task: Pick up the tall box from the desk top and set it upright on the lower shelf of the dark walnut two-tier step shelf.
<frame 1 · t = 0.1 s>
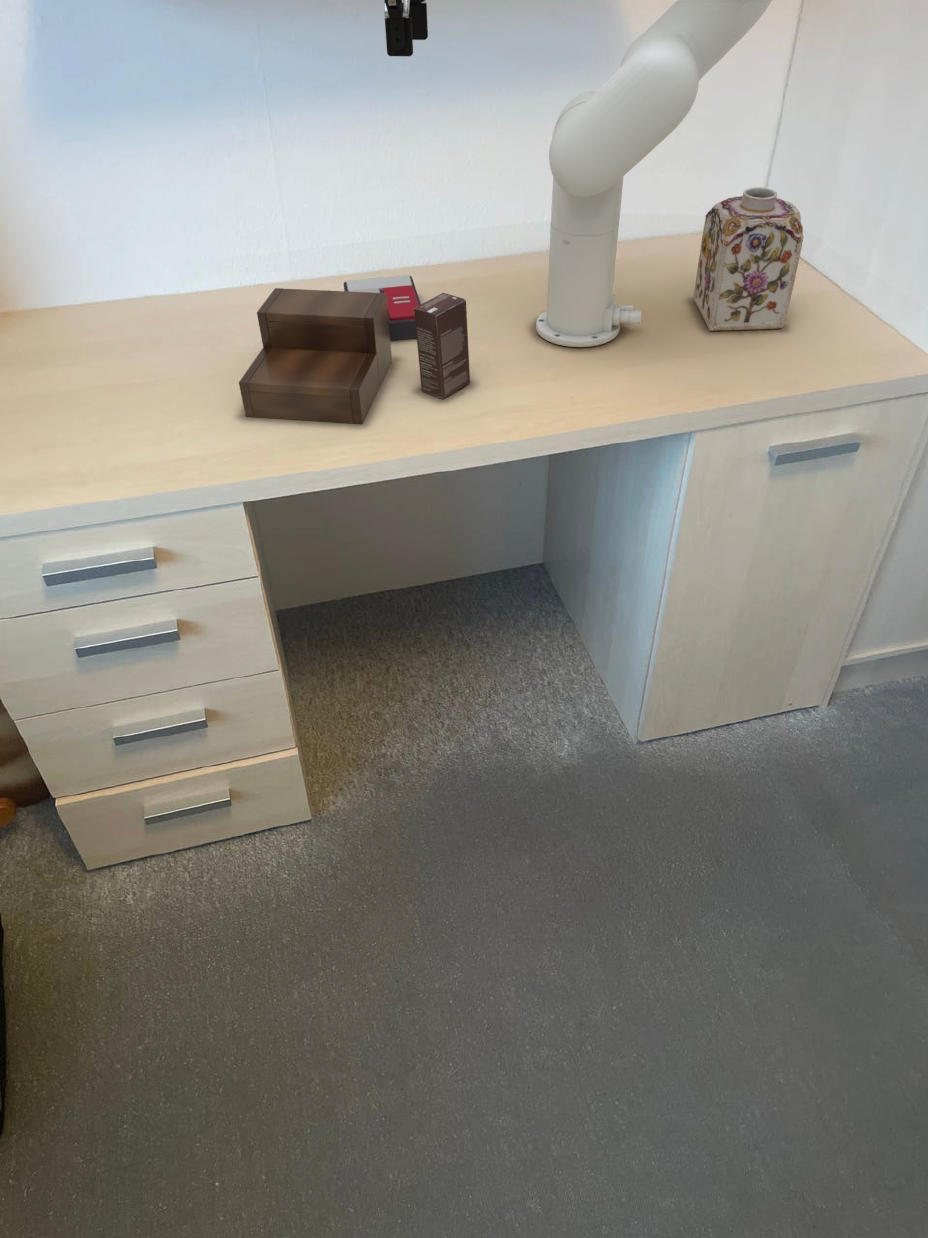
hand: (408, 46, 116), 37 cm above the table, tool pointing down, fingers open, 9 cm apart
step shelf: (323, 383, 127), on the table
calculator: (384, 321, 142), on the table
box: (444, 388, 126), on the table
decorative jar: (736, 315, 141), on the table
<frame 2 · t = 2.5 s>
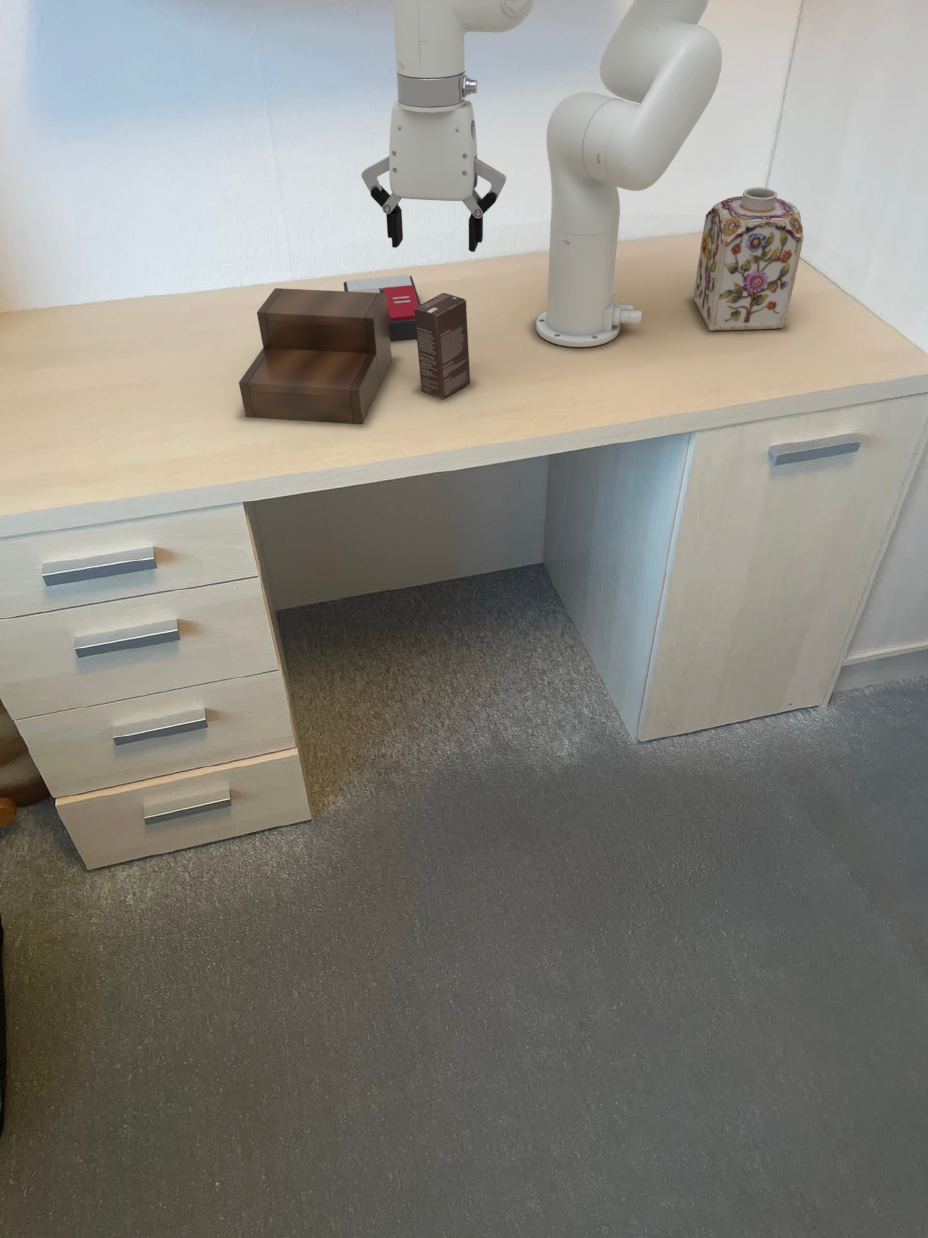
hand: (435, 245, 113), 19 cm above the table, tool pointing down, fingers open, 9 cm apart
nothing on the table moved.
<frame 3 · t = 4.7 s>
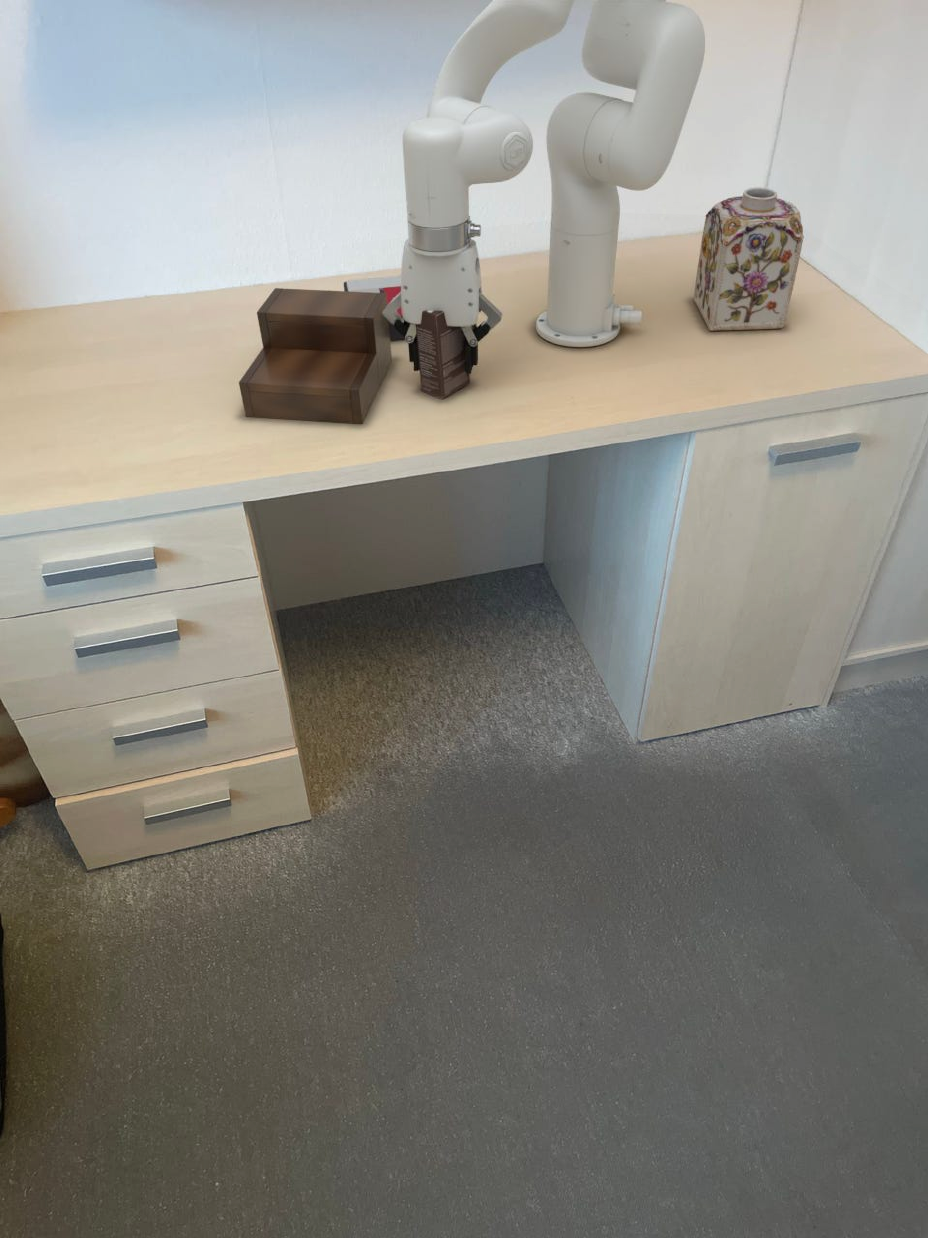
hand: (444, 366, 123), 3 cm above the table, tool pointing down, fingers closed on box, 6 cm apart
box: (444, 388, 126), on the table, touching gripper
everything else where it was.
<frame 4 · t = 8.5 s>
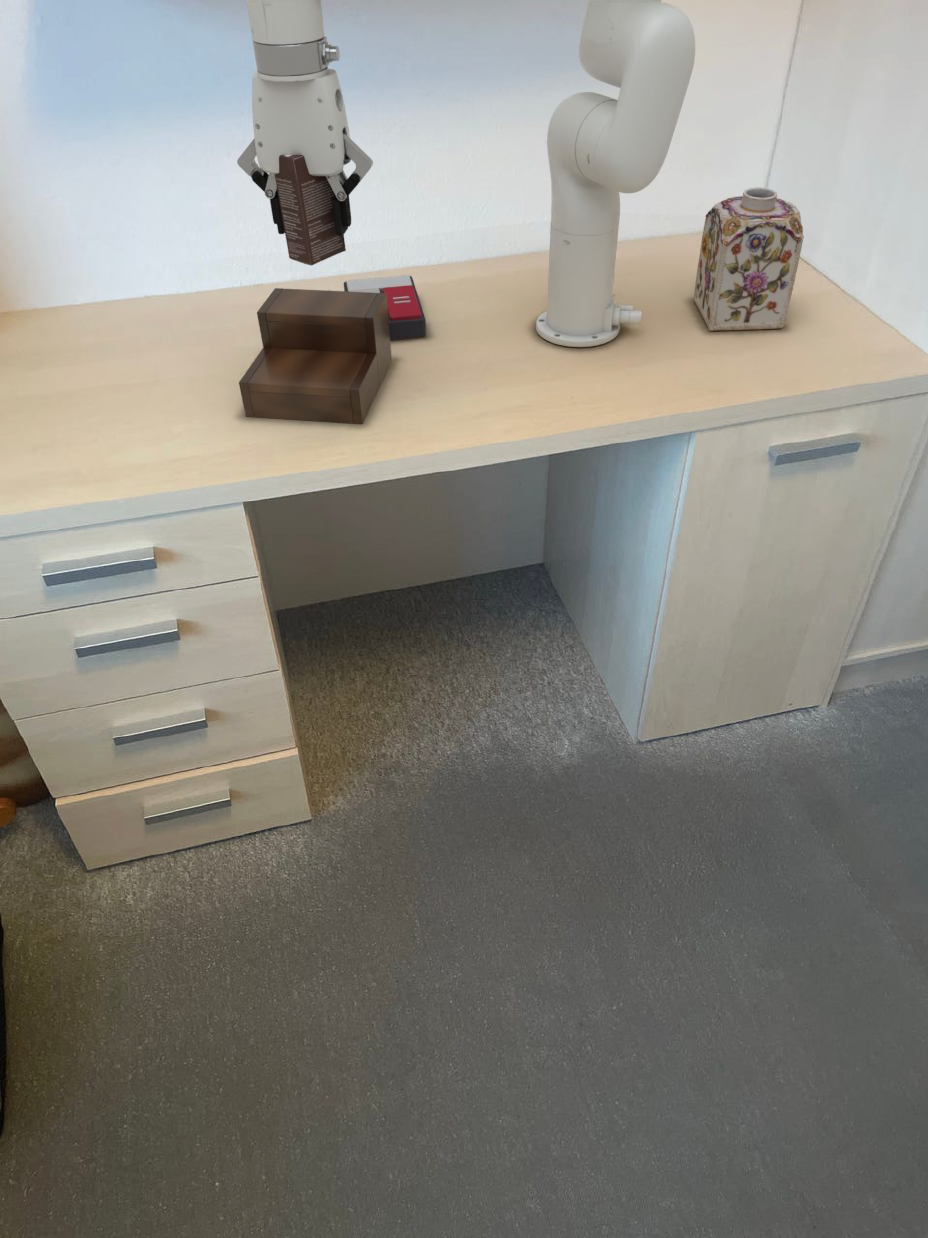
hand: (313, 229, 108), 23 cm above the table, tool pointing down, fingers closed on box, 6 cm apart
box: (316, 257, 111), point 19 cm above the table, touching gripper
everything else where it was.
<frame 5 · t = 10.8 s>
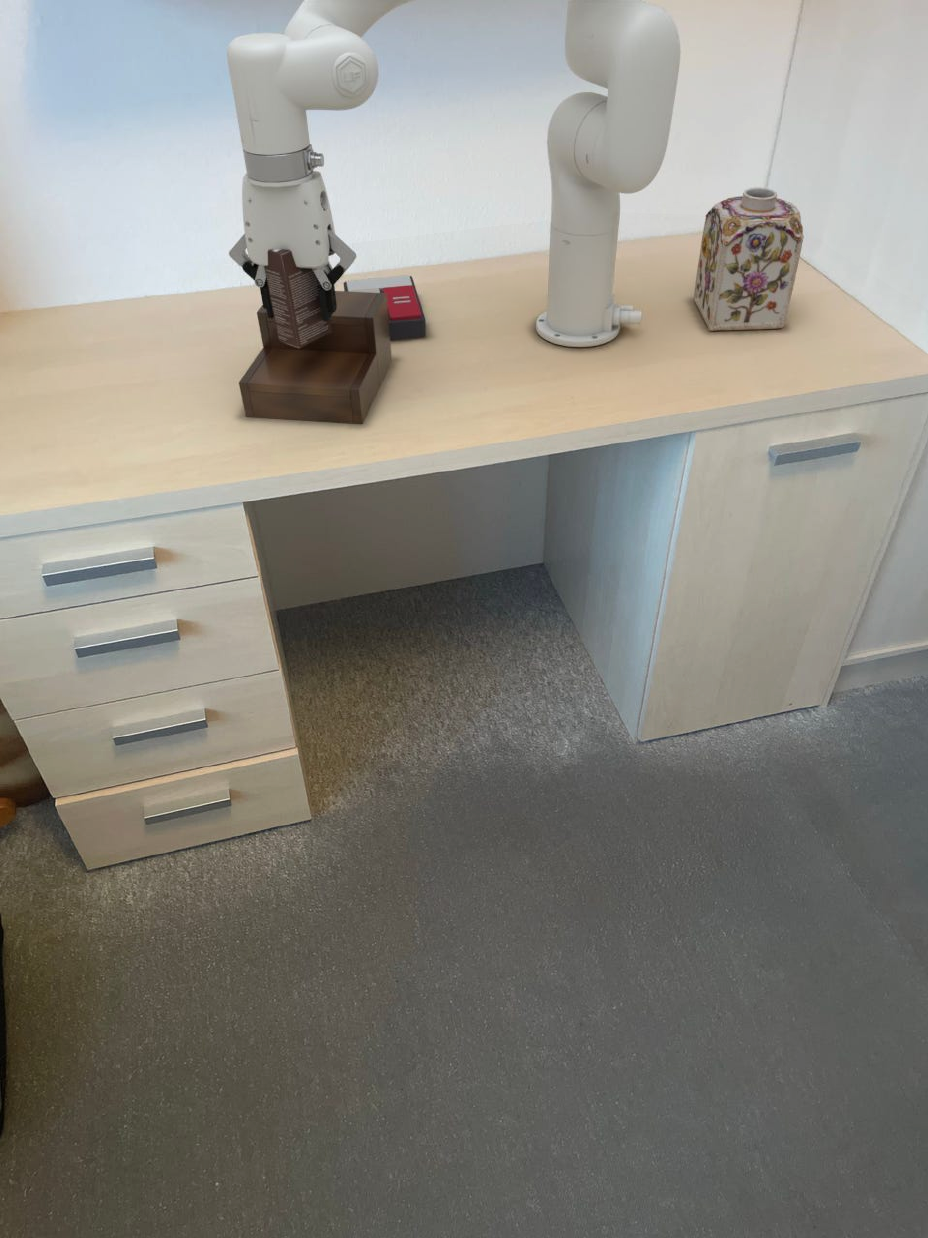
hand: (301, 314, 115), 12 cm above the table, tool pointing down, fingers closed on box, 6 cm apart
box: (304, 338, 117), point 9 cm above the table, touching gripper
everything else where it was.
when the fingers open (8 cm above the table, at t = 12.3 s): box stays where it is, resting on step shelf.
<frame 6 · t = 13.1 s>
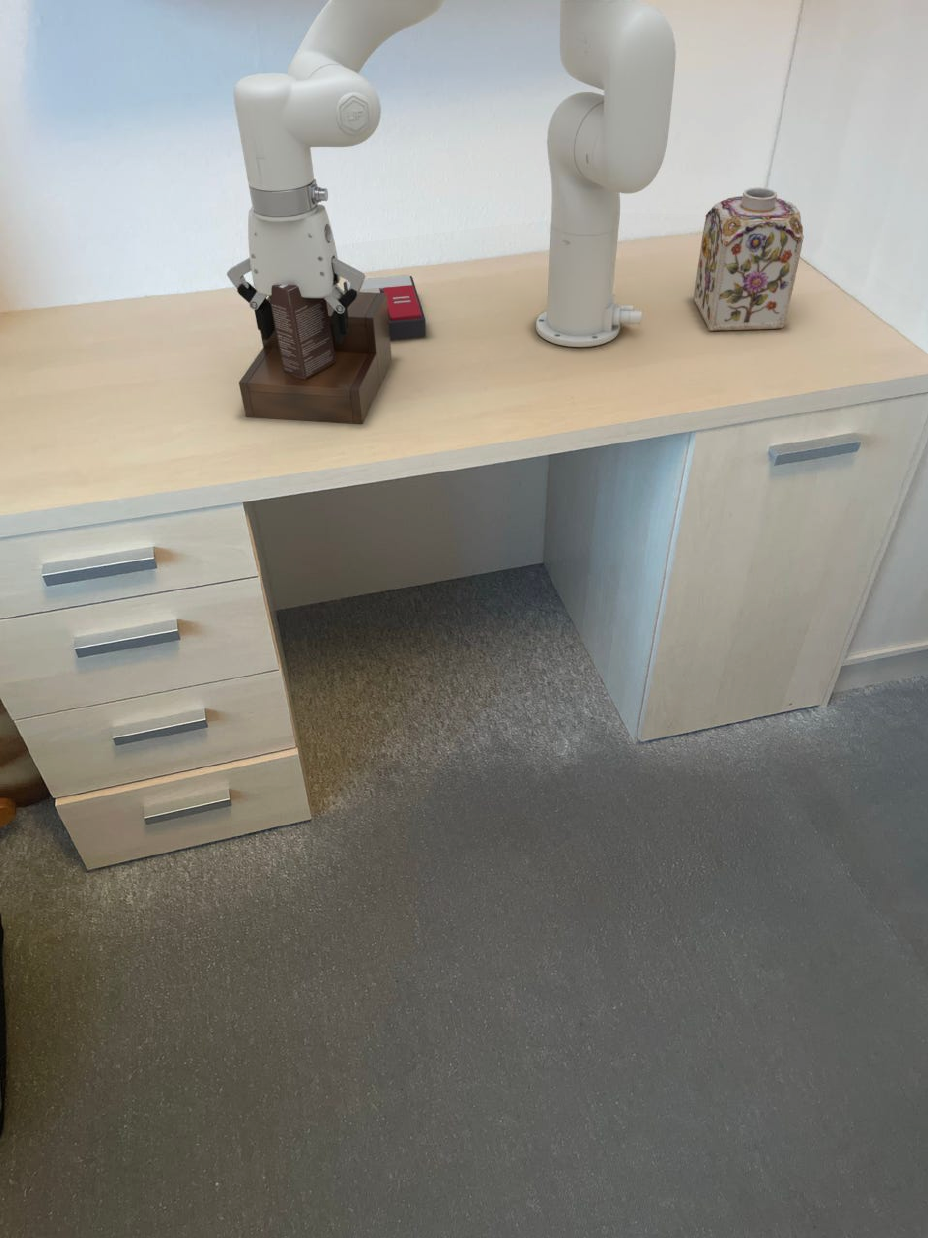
hand: (305, 336, 117), 9 cm above the table, tool pointing down, fingers open, 9 cm apart
box: (309, 369, 120), point 5 cm above the table, touching step shelf
everything else where it was.
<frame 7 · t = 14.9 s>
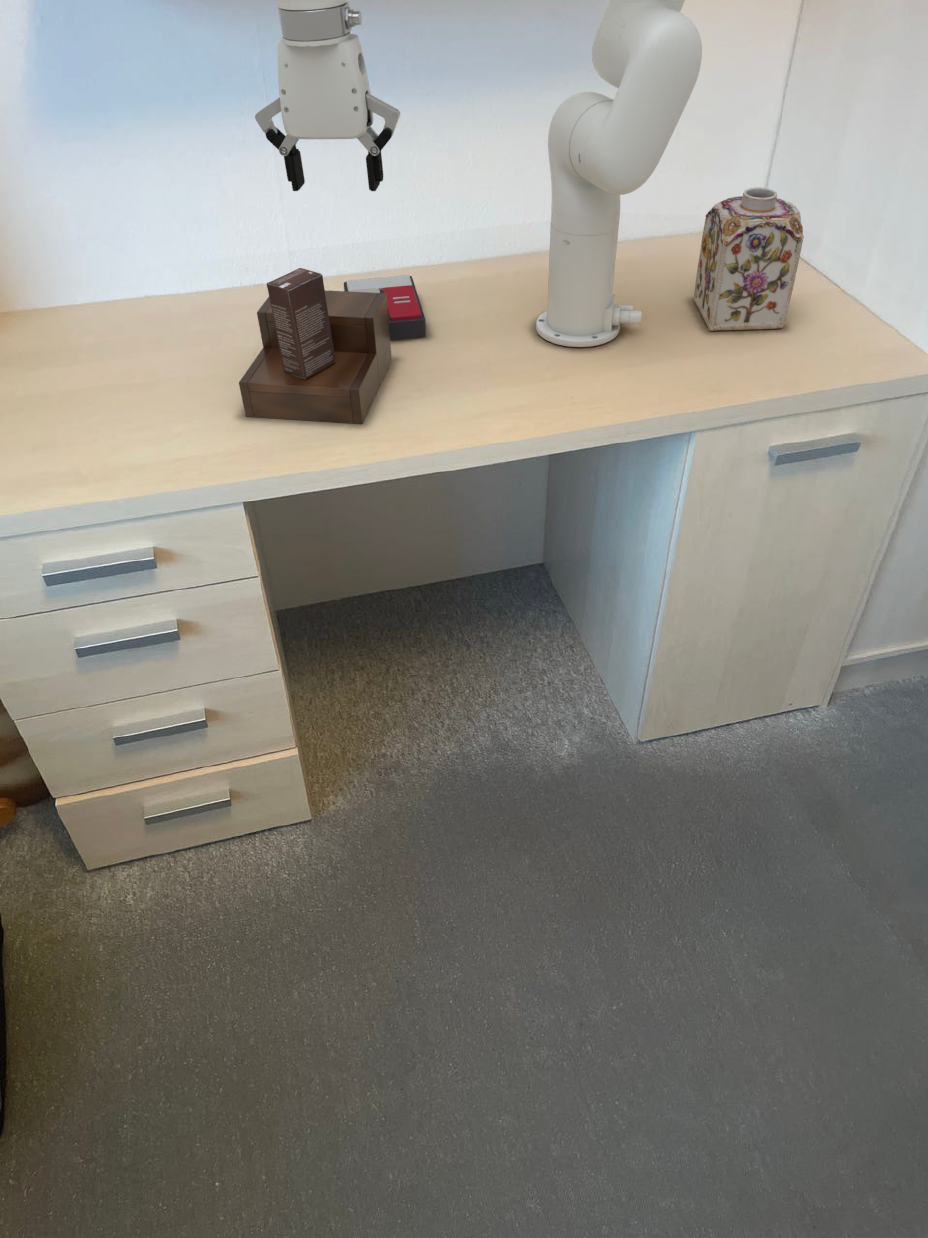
hand: (336, 187, 112), 25 cm above the table, tool pointing down, fingers open, 9 cm apart
nothing on the table moved.
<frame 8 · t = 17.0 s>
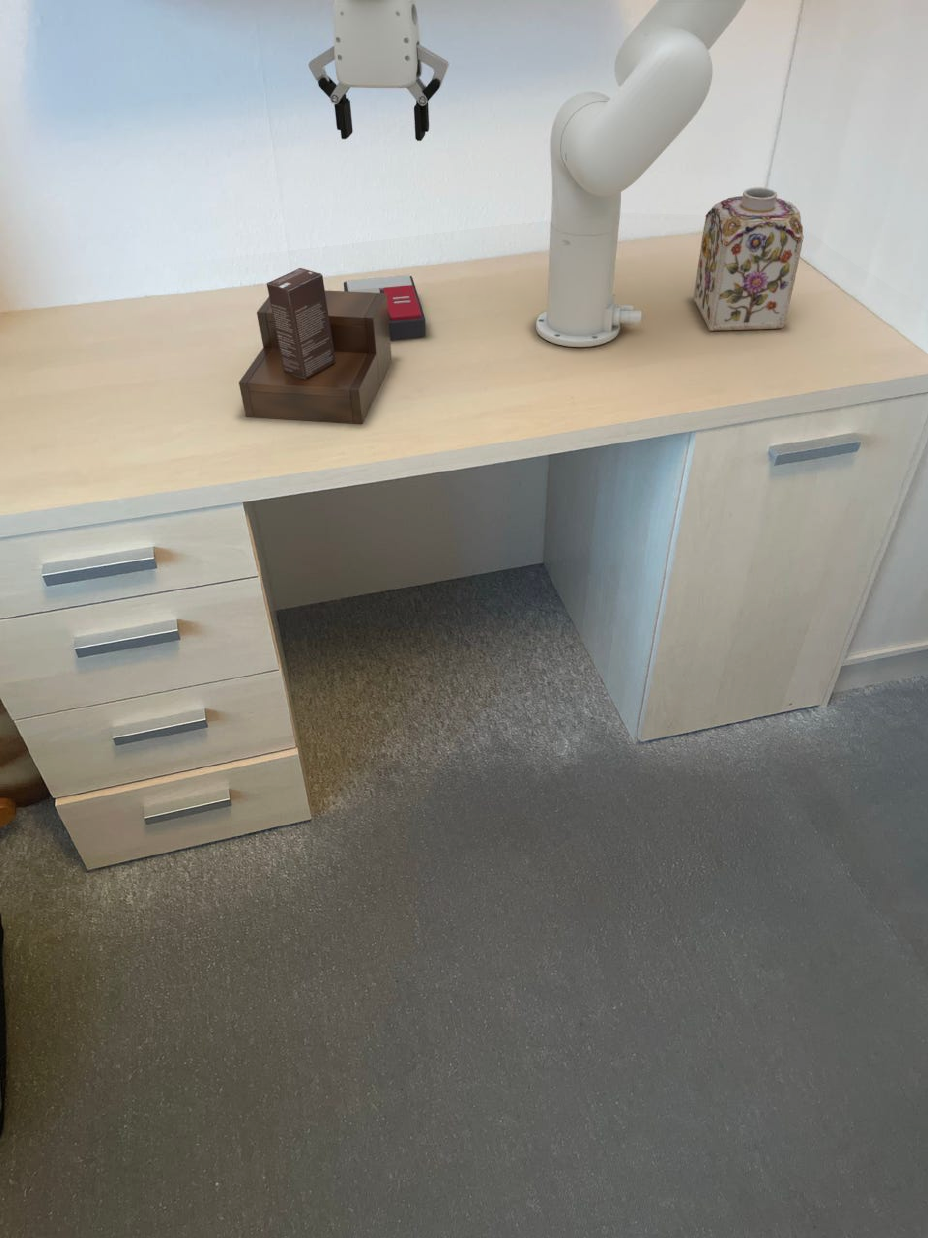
hand: (383, 136, 116), 28 cm above the table, tool pointing down, fingers open, 9 cm apart
nothing on the table moved.
at the end: box inside the target area on the step shelf (0.4 cm from its centre), point 4.8 cm above the step shelf's base; box tilted 0°; the gripper is holding nothing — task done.
